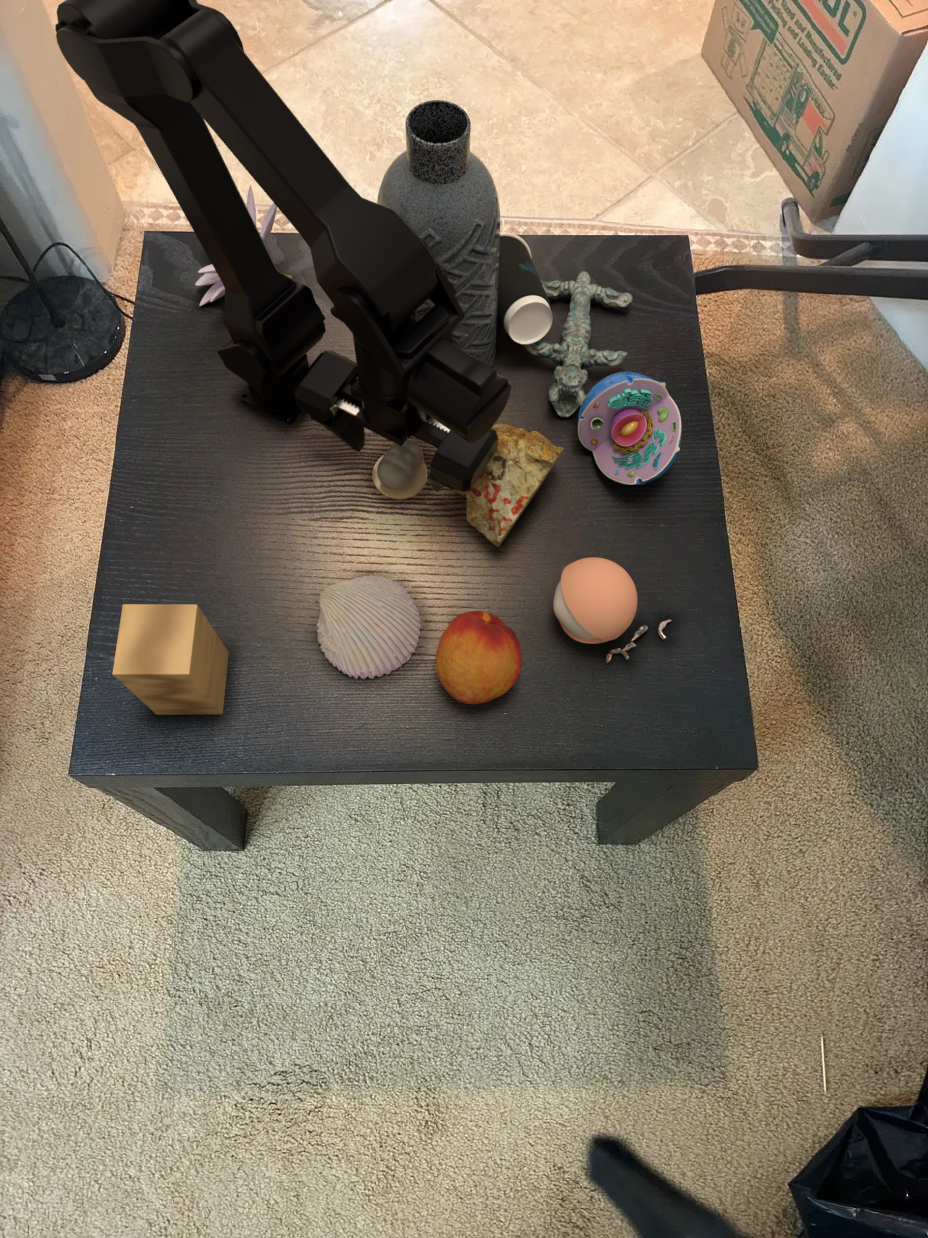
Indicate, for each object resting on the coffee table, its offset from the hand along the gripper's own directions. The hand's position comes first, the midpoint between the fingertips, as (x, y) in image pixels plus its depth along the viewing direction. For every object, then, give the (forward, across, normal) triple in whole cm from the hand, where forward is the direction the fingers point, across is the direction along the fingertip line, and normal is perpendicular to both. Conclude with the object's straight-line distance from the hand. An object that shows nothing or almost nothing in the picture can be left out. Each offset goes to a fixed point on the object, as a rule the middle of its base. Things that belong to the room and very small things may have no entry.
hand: (399, 468), depth 87 cm
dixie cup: (-5, -5, -18) cm, 20 cm away
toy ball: (+1, -24, +4) cm, 24 cm away
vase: (+1, +4, -15) cm, 15 cm away
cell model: (0, -22, -15) cm, 26 cm away
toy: (+1, -30, +5) cm, 30 cm away
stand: (+1, +5, +28) cm, 29 cm away
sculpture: (+1, -8, -23) cm, 25 cm away
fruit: (+2, -17, +14) cm, 22 cm away
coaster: (+1, 0, 0) cm, 1 cm away
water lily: (+1, +23, -15) cm, 28 cm away
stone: (+1, 0, 0) cm, 1 cm away
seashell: (+2, -6, +16) cm, 17 cm away
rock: (+2, -10, -3) cm, 10 cm away
